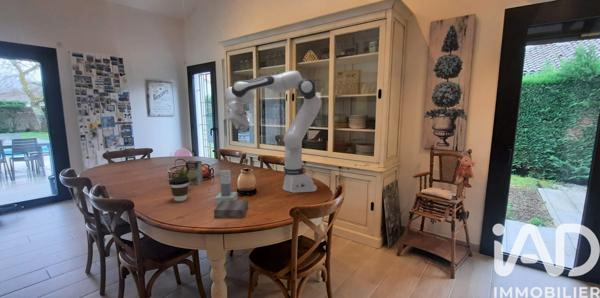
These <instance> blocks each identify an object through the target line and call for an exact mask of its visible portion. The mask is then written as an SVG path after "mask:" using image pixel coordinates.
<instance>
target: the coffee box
mask: <svg viewBox="0 0 600 298" xmlns="http://www.w3.org/2000/svg"><path fill="white" fill-rule="evenodd" d="M202 165H203V164H202V161H201V160H188V161H186V162H185V168H187V173H188V172H189V171H190V170H191V171H190V172H189V173H188V175H189V176H188V175H187V176H188V178H189V186H200V185H201V184H203V166H202ZM187 173H186V174H187ZM190 174H191V175H190Z"/></svg>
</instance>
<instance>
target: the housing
mask: <svg viewBox="0 0 600 298" xmlns="http://www.w3.org/2000/svg"><path fill="white" fill-rule="evenodd" d="M219 174H220V175H219V176H220V192H221V196H230V195H231V192H232V180H231V179H232V178H231V169H222V170H220V172H219Z"/></svg>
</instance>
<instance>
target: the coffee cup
mask: <svg viewBox="0 0 600 298" xmlns="http://www.w3.org/2000/svg"><path fill="white" fill-rule="evenodd" d="M188 183H189V179H188V178H187V177H186V178H180V177H179V178H178V177H177V178H176V177H175V178H172V179H170V180H169V183H168V184H169V185H170V188H171V194H172V196H173V200H174V201H175V202H183V201H186V200H187V198H188V192H189V191H188Z"/></svg>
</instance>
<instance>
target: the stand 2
mask: <svg viewBox="0 0 600 298" xmlns="http://www.w3.org/2000/svg"><path fill="white" fill-rule="evenodd" d="M248 200H249V199H247V200H246V199H245V200H244V199H243V200H241V199H240V200H239V199H237V200H230V201H221V202H220V203H219V205H217V206H216V207H215V208H214V210H213V213H214V215H213V216H214V219H239V218H240V219H243V218H244V217H245V215H246V213H247V211H248V209H249V201H248Z"/></svg>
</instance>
